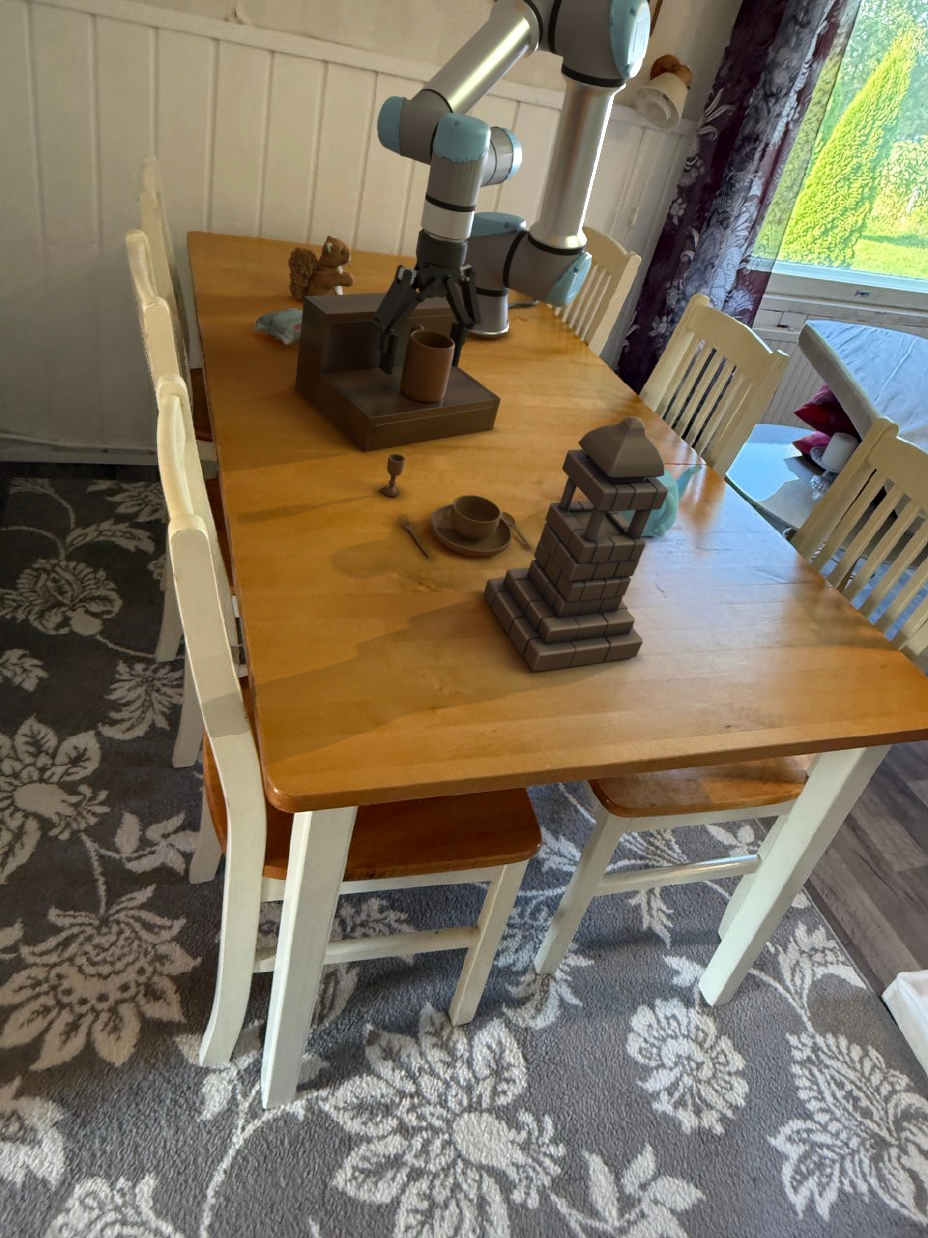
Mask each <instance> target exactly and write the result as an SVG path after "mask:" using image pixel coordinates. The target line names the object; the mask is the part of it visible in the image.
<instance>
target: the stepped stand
mask: <svg viewBox="0 0 928 1238" xmlns="http://www.w3.org/2000/svg"><path fill="white" fill-rule="evenodd" d="M416 291H417V292H418V293H420V292H419V290H416ZM386 293H387V292H373V293H372V292H369V293H368V292H367V293H366V292H365V293H347V294H346V293H344V295H321V296H304V302H302V311H303V312H302V322H301V332H300V342H298V355H297V364H296V374H295V381H294V382H295V384H294V389H295V390H296V391H297V392H298V393H299V394H301V396H303V397H304V398H305V399H306V400H307V401H308V402H309V403H310V404H311V405H312V406H314V407H315V408H316V410H317V411H319V412H320V413H321V414H322V415H323V416H325V417H326V418H327V419H328V420H329V421H330V422H331V424H333V425H334V426H335V427H336V428H337V429H339V431H341V432H342V433H343V434H344V435H345V436H346V437H347V438H349V440H351V442H353V443H354V444H355V445H356V446H357V447H358V448H359V449H360V450H361V451H362V452H364V453H367V452H371V451H377V450H382V449H389V448H394V447H399V446H407V445H411V444H417V443H422V442H429V441H434V440H439V439H445V438H453V437H456V436H462V435H470V434H475V433H481V432H487V431H492V430H494V427H495V423H496V418H497V415H498V412H499V407H500V403H501V400H502V398H501V397H499V396H498V395H497V394H495V393H494V392H493V391H491V390H490V389H488V388H487V387H486V386H485V385H483V384H482V383H481V382H479V381H478V380H476V378H474V377H472V375H470V374H469V373H467V372H465V370H464V369H462V368H460V367H459V366H458V367H453V366H452V365H451V369H450V374H449V378H448V382H447V387H446V391H445V395H444V397H443V398H442V399H441V400H440V401H438V402H434V403H425V402H419V401H416V400H413V399H411V398H409V397H407V396H406V395H405V394H404V393H403V392H402V391H401V388H400V383H401V377H402V371H403V365H404V359H405V354H406V348H407V344H408V340H409V333H410V330H411V327H412V326H413V325H414V324H420V325H422V326H423V327H424V330H430V331H435V332H439V333H442V334H444V335H446V336H448V337H450V333H451V328H452V323H457V322H458V321H457V320H456V318H455V315H454V313H453V311H452V309H451V307H450V305H449V303H448V301H447V299H446V297H445V296H444V298H439V297H435V298H426V299H425V300H424V301H423V302H421V303H419V304H418V305H417V306H416V308H415V309H414V310H413V311H412V312H411V314H410V315H409V316H408V317H407V318H406V320H405V321H404V322H403V323H402V324H401V326H400V327H399V328H398V329H397V330H396V332H395V333H396V334H397V335H398V341H397V347H396V353H395V359H394V365H393V370H392V375H387V374H386V373H385V372H383V371H382V370H381V369H380V368H379V362H380V355H381V351H380V350H379V341H380V334H381V332H380V331H379V330H378V329H376V328H375V327H374V326H372V325H371V320H372V318H373V317H374V315H375V313H376V311H377V309H378V308H379V306H380V304H381V302H382V300H383V299H384V297H385V295H386ZM390 325H391V324H390Z"/></svg>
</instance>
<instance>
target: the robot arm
mask: <svg viewBox="0 0 928 1238" xmlns="http://www.w3.org/2000/svg"><path fill="white" fill-rule="evenodd" d="M650 32H651V11H650V5H649V1H648V0H496V2H495V3H494V4H493V5H492V7H491V9H490V11H489V17H488V20H487V21H486V22H484V24H482V26H481V27H480V28H479V29H478V30H477V31H476V32H475V33H474V34H472V36H471V37H470V38H469V39H468V40H467V41H466V42H465V43H464V44H463V45H462V46H461V47H460V48H459V50H457V52H456V53H455V54H454V55H452V57H451V58H449V60H448V61H447V62H446V63H445V64H444V65H443V66H442V67H441V68H440V69H439V70H438V71H437V72H436V73H435V74H434V75H433V76H432V77H431V79H429V81H428V82H427V83H425V84H424V86H423V87H421V89H420V90H419V91H418V92H417V93H416V94H415V95H414V96H413V97H412V98H411V99H408V98H407V97H406V96H398V95H393V96H389V97H388V98H387V99H386V100H385V101H384V102H383V104H382V105H381V108H380V110H379V113H378V115H377V120H376V130H377V139H378V141H379V143H380V145H381V146H382V147H383V148H385V149H387V150H389V151H391V152H393V153H395V154H397V155H399V156H400V157H402V158H403V157H404V158H407V159H410V160H413V161H416V162H419V163H421V164H423V165H424V164H425V165H428V166H429V167H430V168H429V173H428V179H427V185H426V191H425V196H424V201H423V207H422V213H421V218H420V219H421V220H420V227H421V228H422V229H420V230H419V231H418V236H417V242H416V248H415V257H416V262H415V265H414V266H413V267H406V266H405V265H403V264H399V265H397V267H396V271H395V275H394V278H393V280H392V282H391V284H390V286H389V288H388V289H387V291H386V292H385V293H386V295H385V297H384V299H383V300H382V302H381V304H380V306H379V308H378V309H377V311H376V313H375V315H374V317H373V318H372V320H371V325H372V326H374V327H375V328H376V329H378V330H379V331H380V332H381V334H380V341H379V350H380V351H381V355H380V362H379V368H380V369H381V370H382V371H383V372H385V373H386V374H387V375H392V370H393V365H394V359H395V353H396V347H397V341H398V335H397V334H396V333H395V332H396V330H397V329H398V328H399V327H400V326H401V324H402V323H403V322H404V321H405V320H406V318H407V317H408V316H409V315H410V314H411V312H412V311H413V310H414V309H415V308H416V306H417V305H418V304H419V303H421V302H423V301H424V300H425V299H426V298H435V297H439V298H444V296H445V297H446V299H447V301H448V303H449V305H450V307H451V309H452V311H453V313H454V315H455V318H456V320H457V321H458V322H457V323H452V328H451V333H450V337H449V338H451V339H452V340H453V341H454V344H455V347H454V355H453V360H452V364H451V365H452V366H453V367H459V362H460V358H461V354H462V348H463V346H465V345H466V342H467V338H469V337H470V338H474V339H478V340H479V339H480V340H489V341H490V340H491V341H492V340H500V339H502V338H505V337H506V336H507V334H508V331H509V327H510V320H509V308H513V307H534V306H536V305H537V304H538V303H539V302H542V303H543V304H544V305H550V306H553V307H556V308H563V307H564V308H565V307H567V306H568V305H569V304H571V303H572V301H573V300H574V299H575V298H576V296H577V295H578V293H579V291H580V290H581V288H582V286H583V284H584V282H585V280H586V278H587V276H588V274H589V271H590V268H591V265H592V255H591V254H590V253H589V252H588V251H585V248H586V245H587V244H586V243H587V237H586V235H585V234H584V232H583V230H582V228H583V223H584V219H585V216H586V212H587V207H588V205H589V199H590V195H591V191H592V186H593V182H594V179H595V174H596V170H597V166H598V162H599V158H600V155H601V150H602V146H603V141H604V138H605V133H606V131H607V125H608V121H609V118H610V114H611V109H612V105H613V100H614V97H615V95H617V93H619V92H620V91H621V90H623V89H624V88H625V87H626V84H627V80H629V79H632V78H634V77H635V76H636V75H637V74H638V72H639V71H640V69H641V67H642V66H643V65H642V64H643V59H644V58H645V56H646V54H647V50H648V44H649V39H650ZM535 52H548V53H551V54H552V55H556V56H559V57H562V62H561V66H560V67H561V68H560V74H561V76H562V78H563V79H564V81H565V85H566V86H565V90H564V97H563V100H562V106H561V112H560V116H559V119H558V126H557V130H556V134H555V139H554V144H553V148H552V149H553V150H552V154H551V159H550V163H549V169H548V174H547V177H546V184H545V189H544V193H543V197H542V203H541V208H540V211H539V217H538V220H537V221H535V222H534V223H532V224H530V226H529V228H528V230H527V229H526V227H527V222H526V220H525V218H522V217H521V216H519V215H515V214H512V213H506V212H500V211H499V212H498V211H480V212H476V206H477V202H478V201H477V200H478V197H479V194H480V189H481V188H485V187H490V186H495V185H500V184H502V183H504V182H506V181H508V180H509V179H511V178H513V177H514V176H515V175H516V174H517V172H518V171H519V169H520V166H521V163H522V158H523V151H522V146H521V143H520V140H519V138H518V137H517V135H516V134H515V133H514V132H513V131H512V130H510V129H508V128H507V127H500V126H497V125H495V126H490V125H489V123H487V122H486V121H484V120H483V119H480V118H478V117H474V116H471V115H469V114H470V113H471V111H472V110H473V109H474V108H476V106H477V105H479V103H480V102H481V101H482V100H483V99H484V97H485V96H486V95H488V94H489V92H490V91H491V90H492V89H493V88H494V87H495V86H496V85H497V83H498V82H499V81H500V80H501V79H502V78H503V77H504V76H505V75H506V74H507V72H508V71H510V70H511V68H512V67H513V66H514V65H515V64H516V63H517V62H518V61H519V60H524V59H528V58H530V57H531V56H532V55H533V54H534V53H535ZM475 212H476V213H475ZM510 290H512V291H513V292H517V293H519V294H522V295H524V296H526V297H529V298H531V299H532V300H533V301H532V302H523V301H516V302H511V303H509V301H508V300H509V299H508V297H509V293H510ZM417 291H419V292H420V293H418V292H417ZM390 324H391V325H390Z"/></svg>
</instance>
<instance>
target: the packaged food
mask: <svg viewBox="0 0 928 1238" xmlns="http://www.w3.org/2000/svg"><path fill="white" fill-rule="evenodd" d="M302 312H303V309H298V308H296V307H291V308H286V309H282V310H276V311H271V312H267V313H265V314H262V315H260V316H259V317H258V318H257V320H256V321H255V325H254V330H255V332H259V331H261V332H263V333H264V334H266V335H267V336H269V337H270V338H272V339H274V340H277V341H279V342H281V343H282V344H284V345H285V346H287V345H289V346H292V345H295V344H297V343H299V342H300V332H301V322H302Z"/></svg>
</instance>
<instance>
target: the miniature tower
mask: <svg viewBox="0 0 928 1238" xmlns="http://www.w3.org/2000/svg"><path fill="white" fill-rule="evenodd" d="M647 434H648V433H647V431H646V425H645V423H644V421H643V420H642V419H641V418H640V417H638V416H626V417H624V418H623V419H622V420H621V421H619V422H618V423H614V424H605V425H601V426H599V427H596V428H593V429H591V430H589V431H587V432H586V433H585V434H584V435H583V436H582V437H581V438H580V440H578V442H577V443H578V445H579V446H580V449H569V450H568V451H567V452H566V455H565V458H564V461H563V464H562V467H561V469H562V471H563V473H565V475H566V476H567V480H566V483H565V485H564V489H563V492H562V495H561V498H560V500H559V502H551V503H550V504H549V507H548V510H547V514H546V516H545V519H544V520H545V524H544V525H543V529H542V532H541V534H540V537H539V540H538V542H537V545H536V547H535V551H534V553H533V557H534V559H531V562H530V565H529V566H528V567H516V568H507V570H506V572H505V575H504V576H503V577H502V576H501V577H493V578H488V579H487V581H486V584H485V587H484V591H483V594H482V597H483V598H484V600H485V601H486V603H487V604H488V606H489V607H490V608H491V610H492V612H493V614H494V616H495V617H496V618H497V620H498V622H499V623H500V625H501V626H502V628H503V629H504V631H505V633H506V634H507V636H508V637H509V639H510V640H511V642H512V644H513V645H514V647H515V648H516V650H517V651H518V653H519V655H520V656H521V657H523V659H524V660H525V661H526V663H527V665H528V666H529V667H530V669H531V671H532V672H543V671H549V670H556V669H563V668H569V667H577V666H583V665H590V664H597V663H598V664H599V663H603V662H611V661H618V660H626V659H632V658H637V656H638V653H639V651H640V649H641V647H642V645H643V643H644V639H643V638H642V637H641V635H640V634H639V633H638V632H637V631H636V629H635V628H634V627H635V626H634V624H635V622H636V618H635V617H634V616H633V615H632V613H630V611H629V610H628V607H627V605H626V604H625V602H623V598H624V596H625V595H626V593H627V591H628V588H629V586H630V583H631V581H632V579H631V577H633V576H634V574H635V573H636V569H637V567H638V565H639V563H640V559H641V557H642V554H643V552H644V550H645V547H646V545H647V541H646V540H645V538H643V537H642V536H641V535H642V532H643V530H644V528H645V525H646V523H647V520H648V518H649V516H650V513H651V511H652V510H658V509H661V508H662V505H663V503H664V500H665V498H666V496H667V493H668V489H667V488H666V487H665V486H664V485H663V484H662V483H661V482H660V481H659V480H658V479H657V478H656V477H660V476H664V474H665V469H666V468H665V467H666V466H665V465H666V463H665V460H664V457H663V456H662V453H661V451H660V449H659V448H658V446H657V445H656V443H655V442H654V441H653V440H652V439H651V438H650V437H649V436H648V435H647ZM577 489H579V490H580V492H581V493H582V495H584V497H586V499H587V500H573V499H574V497H575V493H576V491H577ZM627 510H636V511H635V513H634V516H633V518H632V521H631V523H630V524H629V523H628V521H627V520H626V519H625V518H624V517H623V516H622V515H621V514H619V511H627Z"/></svg>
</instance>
